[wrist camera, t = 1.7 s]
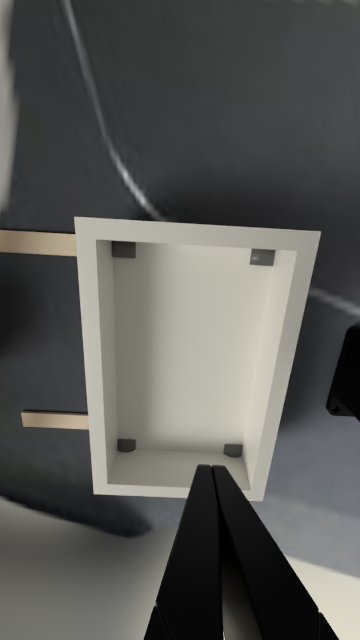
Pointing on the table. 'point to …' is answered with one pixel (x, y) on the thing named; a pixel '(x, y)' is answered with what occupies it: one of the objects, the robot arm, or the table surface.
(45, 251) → the track
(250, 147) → the table surface
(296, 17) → the table surface
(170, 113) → the table surface
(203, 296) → the white open storage bin
